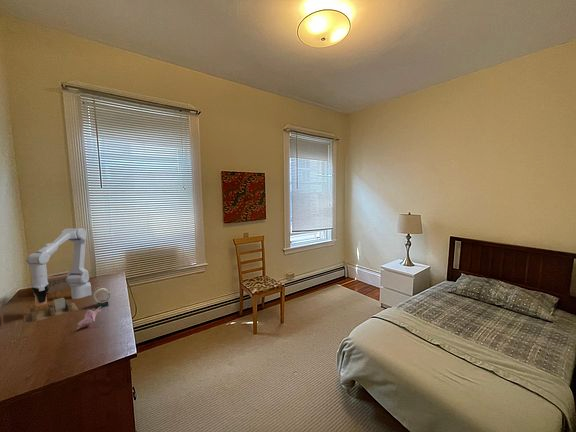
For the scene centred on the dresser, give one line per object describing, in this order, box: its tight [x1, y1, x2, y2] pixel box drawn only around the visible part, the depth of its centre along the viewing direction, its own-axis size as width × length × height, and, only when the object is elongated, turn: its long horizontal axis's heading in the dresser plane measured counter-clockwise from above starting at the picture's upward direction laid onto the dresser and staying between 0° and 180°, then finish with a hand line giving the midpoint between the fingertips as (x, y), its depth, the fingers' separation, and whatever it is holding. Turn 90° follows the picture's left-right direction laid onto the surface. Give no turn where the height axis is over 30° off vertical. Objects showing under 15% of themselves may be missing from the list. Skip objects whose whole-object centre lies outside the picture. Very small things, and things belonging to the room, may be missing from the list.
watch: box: [93, 287, 112, 309], centre depth 136 cm, size 6×8×11 cm
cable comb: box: [22, 299, 79, 325], centre depth 128 cm, size 20×14×4 cm
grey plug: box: [53, 297, 66, 312], centre depth 131 cm, size 4×4×6 cm
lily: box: [76, 306, 103, 331], centre depth 115 cm, size 12×12×10 cm
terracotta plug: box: [34, 294, 48, 307], centre depth 125 cm, size 4×4×6 cm
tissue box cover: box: [31, 269, 81, 297], centre depth 165 cm, size 26×14×10 cm, turn 140°
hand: (41, 300), depth 125 cm, fingers closed on terracotta plug, 4 cm apart
